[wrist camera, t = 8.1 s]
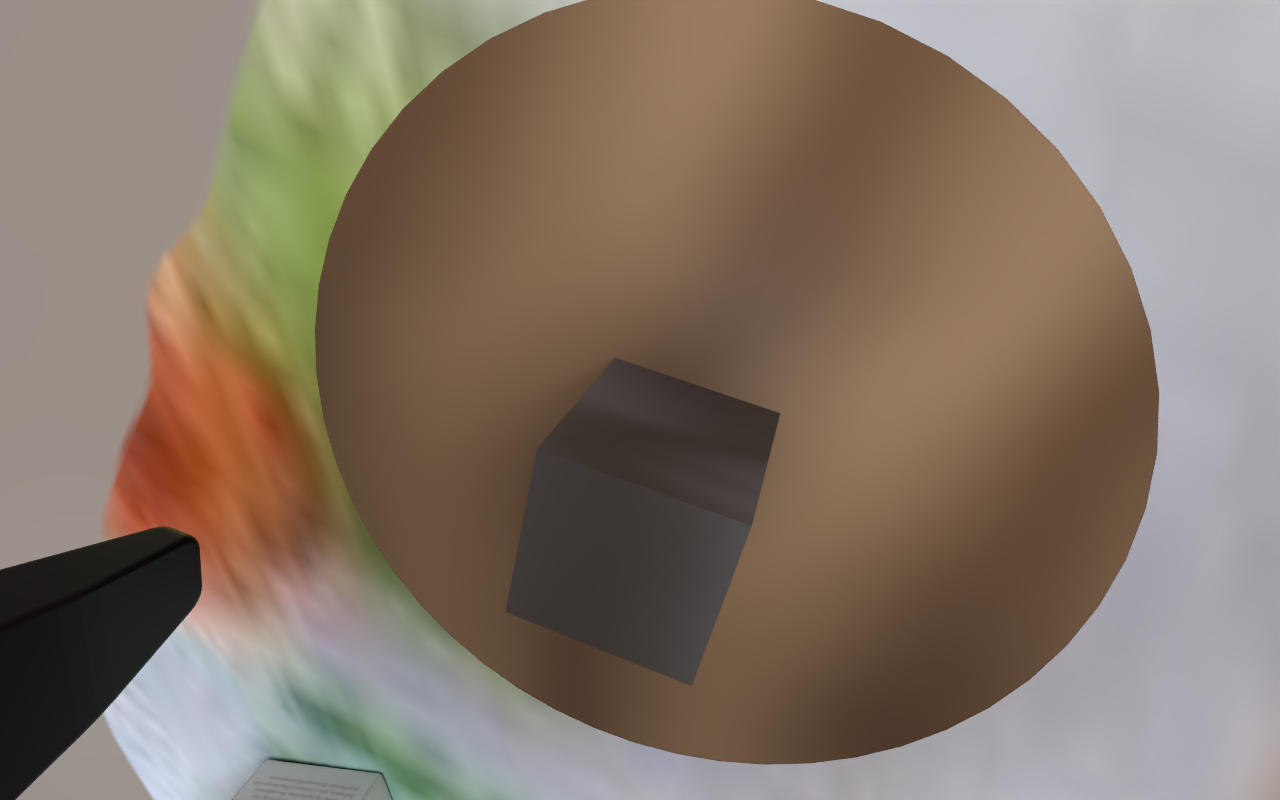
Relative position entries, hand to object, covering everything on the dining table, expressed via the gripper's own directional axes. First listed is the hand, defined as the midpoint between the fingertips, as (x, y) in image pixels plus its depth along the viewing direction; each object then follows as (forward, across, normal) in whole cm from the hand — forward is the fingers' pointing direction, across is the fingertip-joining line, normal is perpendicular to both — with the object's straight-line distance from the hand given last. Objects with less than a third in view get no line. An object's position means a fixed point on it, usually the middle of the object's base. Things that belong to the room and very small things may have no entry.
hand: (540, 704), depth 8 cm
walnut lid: (+7, 0, 0) cm, 7 cm away
